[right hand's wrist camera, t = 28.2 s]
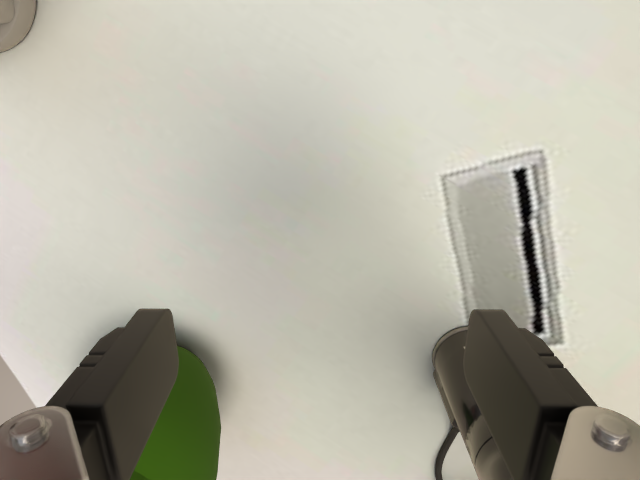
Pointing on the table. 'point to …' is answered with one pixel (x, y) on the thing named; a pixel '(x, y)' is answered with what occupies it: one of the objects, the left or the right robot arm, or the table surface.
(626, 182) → the table surface
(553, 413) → the right robot arm
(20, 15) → the bust sculpture
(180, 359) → the vase
